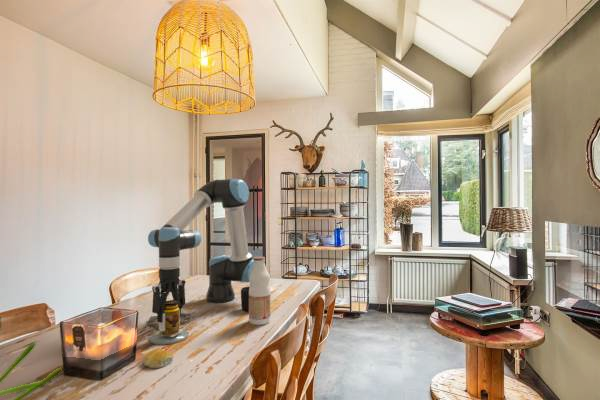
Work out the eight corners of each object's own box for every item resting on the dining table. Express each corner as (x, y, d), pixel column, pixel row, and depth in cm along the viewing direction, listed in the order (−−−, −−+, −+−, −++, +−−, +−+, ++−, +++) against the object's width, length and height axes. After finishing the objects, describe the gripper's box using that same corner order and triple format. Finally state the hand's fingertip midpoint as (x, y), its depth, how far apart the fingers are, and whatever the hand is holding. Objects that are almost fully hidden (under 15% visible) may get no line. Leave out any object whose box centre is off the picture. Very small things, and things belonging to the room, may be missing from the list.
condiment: (173, 336, 129) (173, 304, 129) (153, 335, 131) (153, 303, 131) (184, 329, 136) (184, 299, 137) (164, 328, 138) (164, 298, 138)
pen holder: (264, 308, 171) (264, 287, 171) (252, 313, 163) (252, 292, 163) (248, 305, 175) (248, 285, 175) (236, 310, 167) (236, 289, 167)
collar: (191, 313, 163) (191, 309, 163) (189, 325, 146) (189, 321, 146) (152, 316, 159) (152, 312, 159) (145, 329, 142) (145, 325, 142)
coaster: (189, 329, 142) (189, 327, 142) (187, 342, 129) (187, 340, 129) (153, 332, 139) (153, 330, 139) (146, 346, 125) (146, 344, 125)
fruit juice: (252, 326, 145) (252, 259, 145) (246, 320, 153) (245, 256, 153) (273, 323, 149) (273, 258, 149) (266, 317, 157) (265, 255, 158)
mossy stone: (159, 355, 119) (159, 343, 119) (177, 361, 114) (177, 349, 114) (137, 364, 112) (137, 352, 112) (155, 371, 107) (155, 358, 107)
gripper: (182, 262, 144) (182, 318, 144) (140, 270, 128) (141, 333, 128) (195, 264, 140) (195, 321, 140) (153, 272, 124) (154, 337, 124)
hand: (169, 327), depth 134 cm, fingers closed on condiment, 6 cm apart
